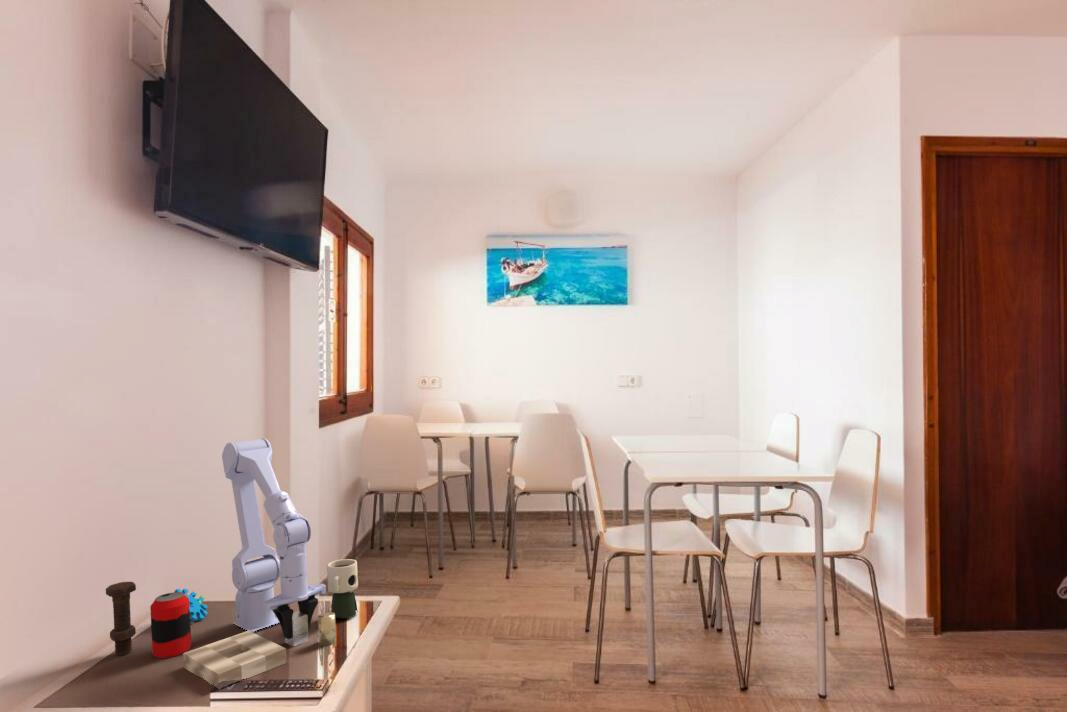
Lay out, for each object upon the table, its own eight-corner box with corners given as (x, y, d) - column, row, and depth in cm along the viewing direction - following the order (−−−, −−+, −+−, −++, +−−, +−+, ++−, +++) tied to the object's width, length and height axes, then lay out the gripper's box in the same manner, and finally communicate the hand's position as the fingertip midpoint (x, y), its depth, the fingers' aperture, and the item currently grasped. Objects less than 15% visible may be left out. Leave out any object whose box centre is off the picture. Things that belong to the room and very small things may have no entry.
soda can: (180, 641, 155) (178, 588, 155) (198, 648, 151) (195, 594, 151) (146, 653, 149) (143, 599, 149) (163, 661, 145) (160, 605, 145)
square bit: (285, 642, 152) (284, 615, 152) (299, 637, 155) (298, 610, 155) (293, 646, 150) (292, 619, 149) (308, 640, 152) (307, 614, 152)
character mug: (351, 625, 160) (349, 569, 160) (322, 625, 161) (319, 570, 161) (365, 607, 171) (363, 556, 171) (337, 608, 172) (335, 556, 172)
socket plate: (183, 667, 141) (183, 653, 141) (249, 643, 152) (248, 630, 152) (219, 689, 131) (218, 674, 131) (286, 662, 142) (285, 648, 142)
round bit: (316, 643, 151) (314, 616, 151) (330, 637, 154) (329, 610, 154) (325, 647, 149) (323, 619, 149) (339, 641, 151) (338, 614, 151)
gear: (192, 621, 163) (166, 591, 164) (175, 639, 162) (149, 609, 164) (219, 610, 173) (194, 582, 175) (203, 627, 173) (178, 598, 175)
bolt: (123, 659, 147) (120, 590, 147) (103, 658, 148) (100, 589, 148) (143, 648, 152) (140, 581, 152) (124, 647, 153) (121, 580, 153)
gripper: (272, 586, 144) (275, 650, 144) (332, 568, 155) (335, 627, 155) (255, 580, 149) (258, 642, 149) (315, 562, 160) (318, 620, 160)
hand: (296, 634), depth 152 cm, fingers closed on square bit, 4 cm apart
